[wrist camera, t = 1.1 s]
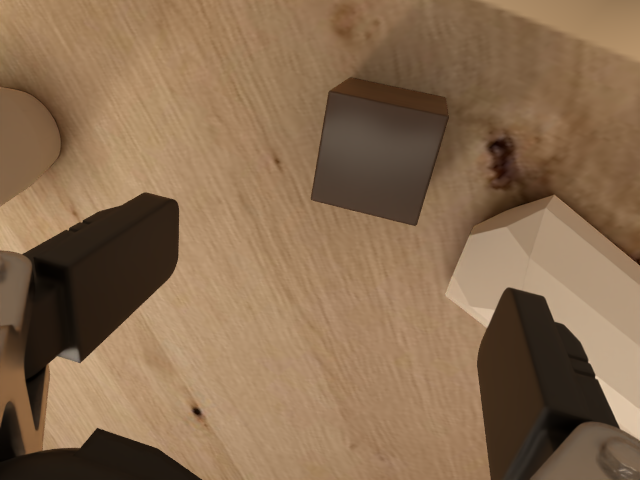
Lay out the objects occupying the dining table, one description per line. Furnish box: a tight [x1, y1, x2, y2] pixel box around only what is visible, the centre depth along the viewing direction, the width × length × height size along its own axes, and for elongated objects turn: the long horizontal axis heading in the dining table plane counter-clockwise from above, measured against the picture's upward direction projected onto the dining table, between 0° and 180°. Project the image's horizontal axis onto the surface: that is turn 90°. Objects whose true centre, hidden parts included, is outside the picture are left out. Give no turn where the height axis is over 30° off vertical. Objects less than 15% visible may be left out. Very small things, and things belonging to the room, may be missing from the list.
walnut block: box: [311, 78, 449, 226], centre depth 21 cm, size 5×5×5 cm
